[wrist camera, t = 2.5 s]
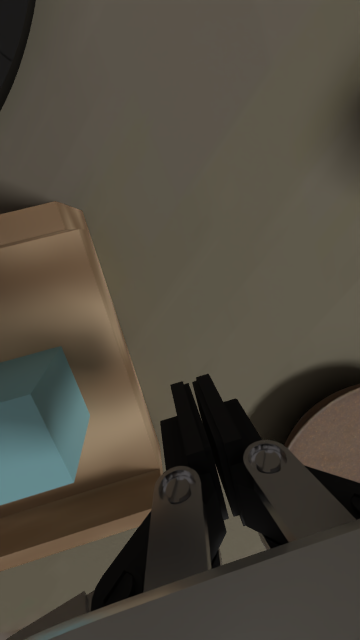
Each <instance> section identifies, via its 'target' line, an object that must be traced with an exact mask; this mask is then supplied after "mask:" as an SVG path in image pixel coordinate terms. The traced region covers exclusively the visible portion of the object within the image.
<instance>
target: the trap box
mask: <svg viewBox="0 0 360 640" xmlns="http://www.w3.org/2000/svg"><path fill="white" fill-rule="evenodd" d="M59 346H61V347H62V349H63V352H64V354H65V356H66V359H67V361H68V364H69V366H70V368H71V371H72V373H73V375H74V378H75V380H76V383H77V385H78V387H79V390H80V392H81V395H82V397H83V399H84V402H85V404H86V407H87V409H88V411H89V414H90V418H89V423H88V427H87V431H86V435H85V439H84V443H83V448H82V452H81V456H80V460H79V464H78V468H77V473H76V477H75V481H74V483H71V484H68V485H65V486H62V487H58V488H55V489H52V490H49V491H46V492H42V493H39V494H36V495H33V496H29V497H26V498H23V499H20V500H16V501H13V502H10V503H7V504H3V505H0V571H3V570H6V569H9V568H12V567H16V566H19V565H22V564H25V563H28V562H31V561H34V560H37V559H40V558H43V557H46V556H49V555H52V554H55V553H59V552H62V551H65V550H68V549H71V548H74V547H77V546H80V545H83V544H86V543H89V542H92V541H95V540H99V539H102V538H105V537H108V536H111V535H114V534H117V533H120V532H123V531H126V530H129V529H132V528H135V527H138V526H140V525H141V523H142V522H143V521H144V519H145V518H146V517H147V515H148V514H149V513H150V511H151V510H152V500H153V490H154V486H155V483H156V481H157V480H158V478H159V477H160V476H161V475H162V474H163V470H162V461H161V453H160V445H159V442H158V439H157V436H156V433H155V430H154V427H153V424H152V421H151V418H150V415H149V412H148V409H147V406H146V403H145V400H144V397H143V394H142V391H141V388H140V385H139V382H138V379H137V376H136V373H135V369H134V366H133V363H132V360H131V357H130V354H129V351H128V348H127V345H126V342H125V339H124V336H123V333H122V330H121V327H120V324H119V321H118V318H117V315H116V312H115V309H114V306H113V303H112V300H111V297H110V294H109V291H108V288H107V284H106V281H105V278H104V275H103V272H102V269H101V266H100V263H99V260H98V257H97V254H96V251H95V248H94V245H93V242H92V239H91V236H90V233H89V230H88V227H87V224H86V221H85V218H84V215H83V212H82V211H81V210H79V209H76V208H73V207H70V206H67V205H65V204H62V203H59V202H56V201H54V202H50V203H46V204H42V205H38V206H33V207H29V208H25V209H21V210H16V211H12V212H8V213H4V214H0V362H4V361H8V360H11V359H15V358H19V357H22V356H26V355H30V354H33V353H37V352H41V351H44V350H48V349H52V348H55V347H59Z"/></svg>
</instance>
